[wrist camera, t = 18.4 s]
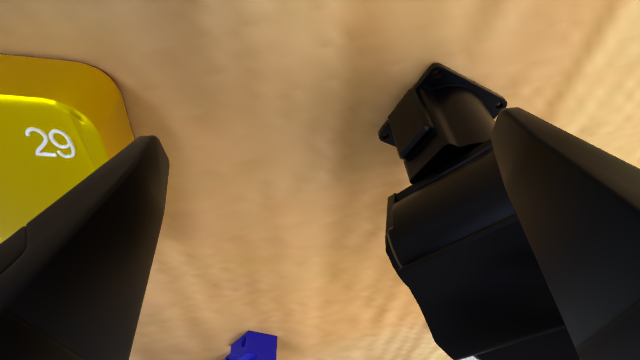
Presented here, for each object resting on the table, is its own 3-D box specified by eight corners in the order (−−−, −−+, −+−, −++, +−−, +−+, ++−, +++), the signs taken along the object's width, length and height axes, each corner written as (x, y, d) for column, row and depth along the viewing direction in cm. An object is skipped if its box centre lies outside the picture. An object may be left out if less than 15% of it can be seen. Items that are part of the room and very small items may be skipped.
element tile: (-30, 208, 30) (-71, 258, 27) (-181, 32, 19) (-279, 78, 16) (159, 218, 32) (143, 265, 29) (115, 62, 21) (82, 109, 18)
